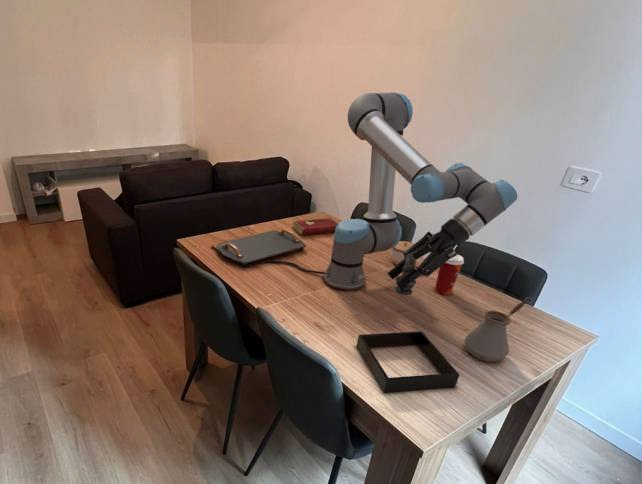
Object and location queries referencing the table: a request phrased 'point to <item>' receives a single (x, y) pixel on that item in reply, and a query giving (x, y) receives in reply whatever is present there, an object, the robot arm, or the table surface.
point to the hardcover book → (315, 226)
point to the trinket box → (400, 251)
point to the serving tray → (260, 246)
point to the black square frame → (409, 383)
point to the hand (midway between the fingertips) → (394, 281)
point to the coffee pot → (491, 335)
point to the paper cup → (448, 275)
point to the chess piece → (407, 267)
